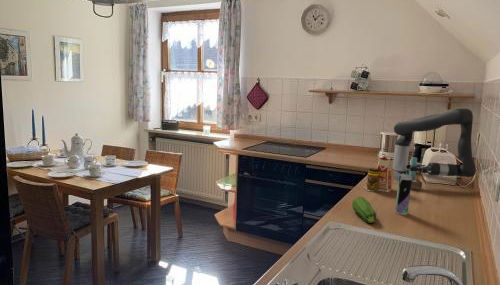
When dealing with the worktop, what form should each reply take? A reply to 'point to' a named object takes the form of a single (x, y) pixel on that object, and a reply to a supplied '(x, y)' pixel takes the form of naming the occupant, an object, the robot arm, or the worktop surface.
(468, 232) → the worktop surface
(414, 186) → the socket
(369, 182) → the condiment
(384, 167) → the milk carton
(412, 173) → the light blue flat panel
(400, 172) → the sleeve
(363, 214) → the vegetable
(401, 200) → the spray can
